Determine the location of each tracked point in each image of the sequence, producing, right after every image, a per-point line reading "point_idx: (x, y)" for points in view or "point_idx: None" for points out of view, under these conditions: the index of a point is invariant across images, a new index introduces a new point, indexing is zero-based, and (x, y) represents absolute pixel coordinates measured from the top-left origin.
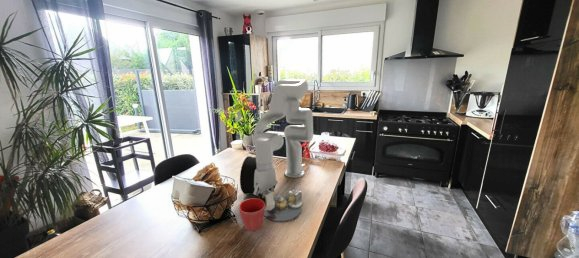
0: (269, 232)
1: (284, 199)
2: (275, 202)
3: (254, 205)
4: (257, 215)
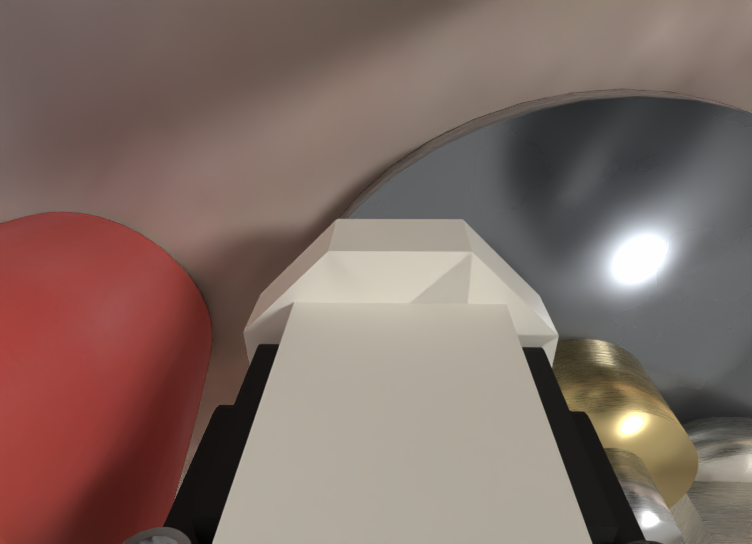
0: (180, 482)
1: (685, 479)
2: (645, 264)
3: (58, 395)
4: None
